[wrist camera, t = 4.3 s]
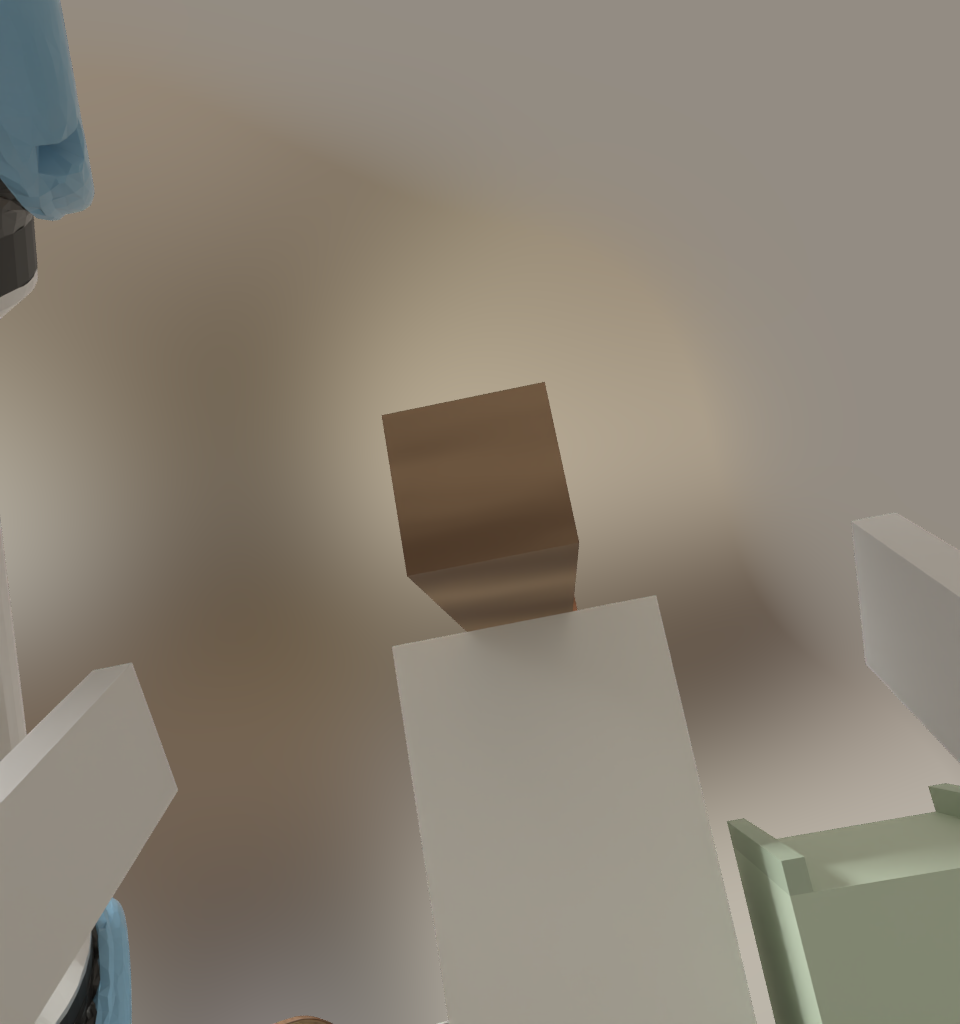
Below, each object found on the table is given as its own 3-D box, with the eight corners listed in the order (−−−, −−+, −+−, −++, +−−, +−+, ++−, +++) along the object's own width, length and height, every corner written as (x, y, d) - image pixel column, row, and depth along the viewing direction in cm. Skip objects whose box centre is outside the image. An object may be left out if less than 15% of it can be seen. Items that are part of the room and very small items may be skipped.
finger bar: (600, 538, 19) (548, 303, 21) (385, 580, 19) (350, 344, 21) (578, 642, 44) (556, 533, 46) (486, 659, 44) (466, 550, 46)
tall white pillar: (905, 1656, 23) (655, 595, 31) (549, 1692, 24) (391, 646, 31) (798, 1343, 35) (636, 628, 42) (560, 1373, 35) (443, 665, 43)
